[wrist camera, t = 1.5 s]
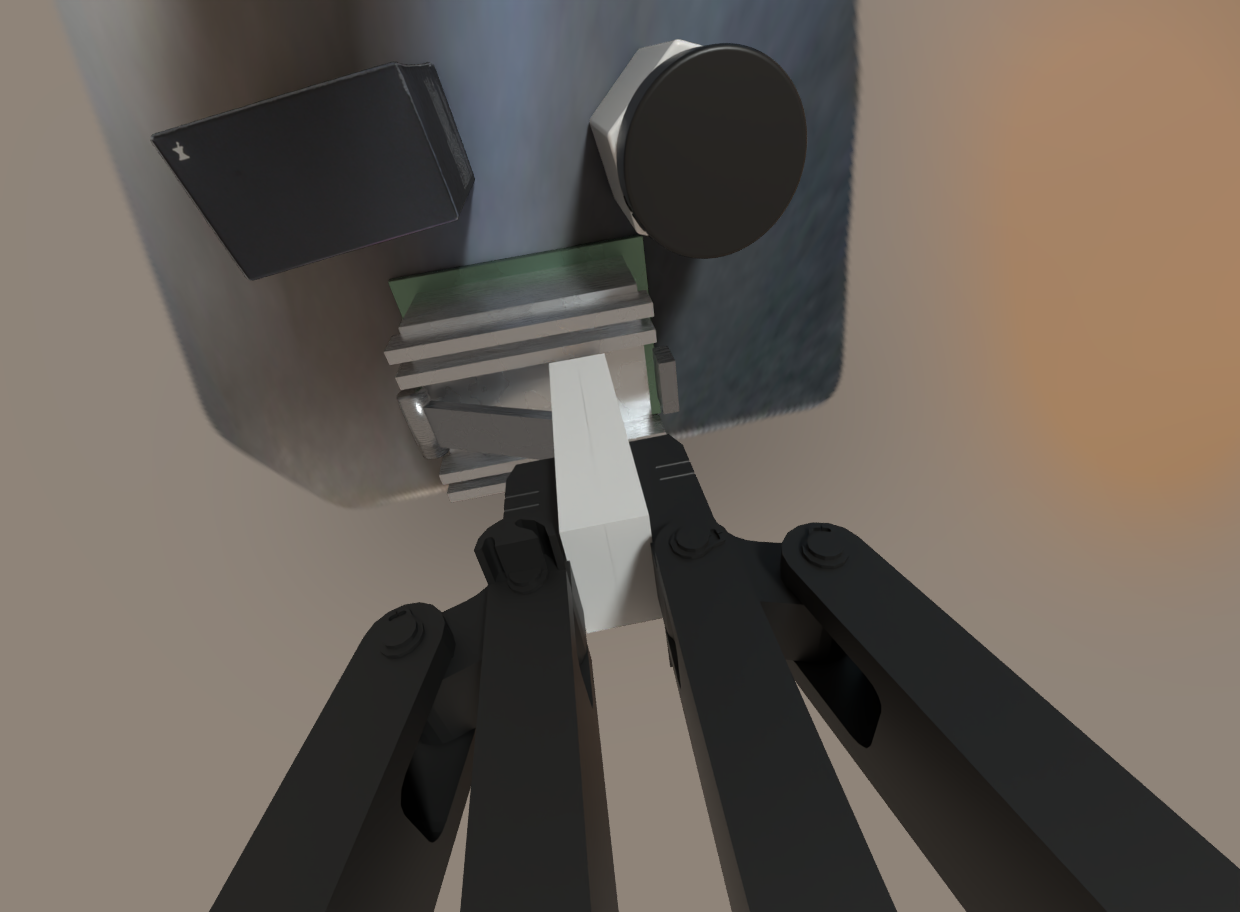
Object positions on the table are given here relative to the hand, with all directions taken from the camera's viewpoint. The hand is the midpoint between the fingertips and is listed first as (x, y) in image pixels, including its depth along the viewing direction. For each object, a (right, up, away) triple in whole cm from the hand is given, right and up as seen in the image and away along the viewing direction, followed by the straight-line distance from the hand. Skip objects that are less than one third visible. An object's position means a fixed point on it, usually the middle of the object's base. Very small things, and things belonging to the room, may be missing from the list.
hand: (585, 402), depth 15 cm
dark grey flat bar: (-6, +1, +17) cm, 18 cm away
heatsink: (-5, +6, +25) cm, 26 cm away
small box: (-14, +16, +16) cm, 27 cm away
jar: (+3, +18, +18) cm, 26 cm away
